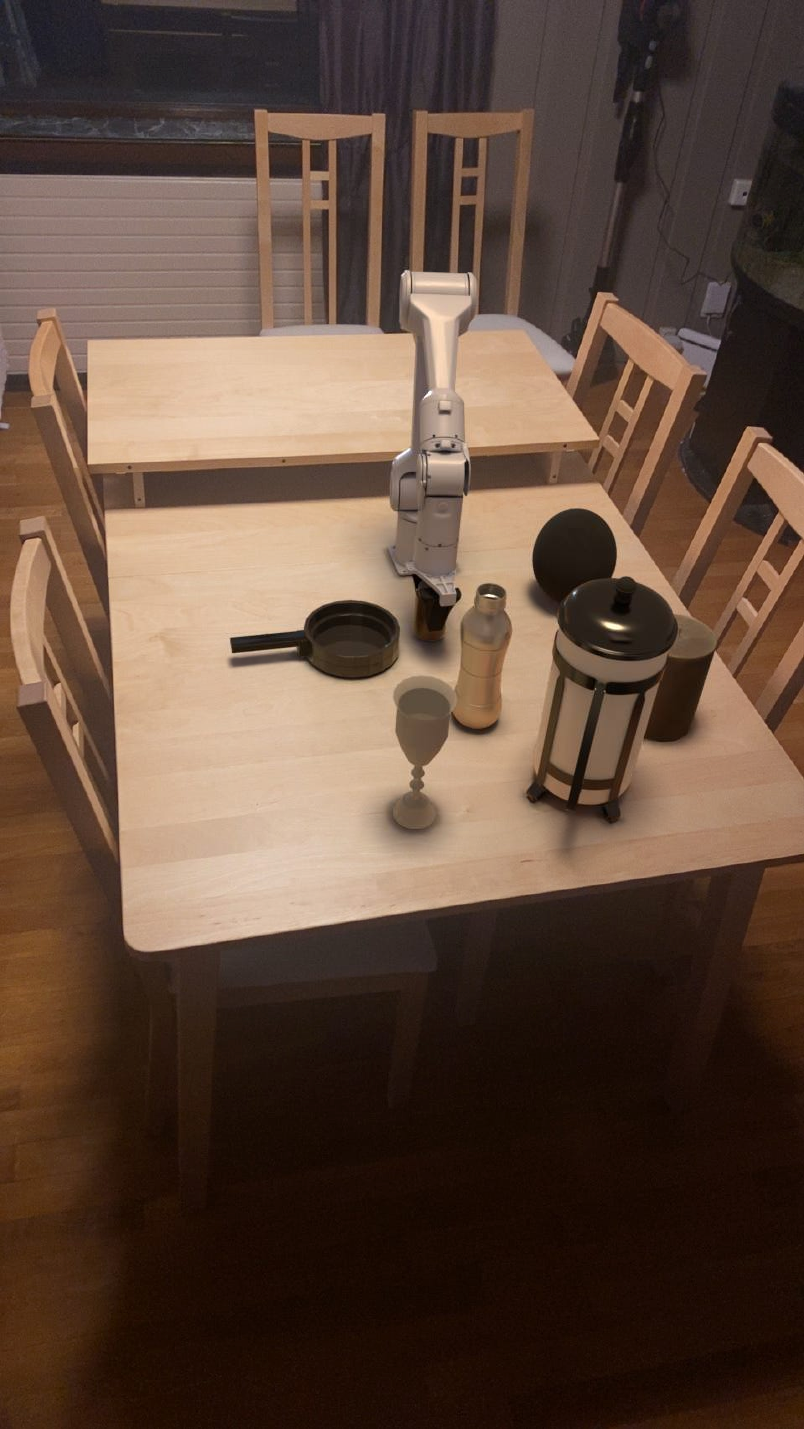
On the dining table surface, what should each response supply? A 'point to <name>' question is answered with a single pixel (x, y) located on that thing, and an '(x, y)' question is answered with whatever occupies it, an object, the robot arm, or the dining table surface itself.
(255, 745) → the dining table surface
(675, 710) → the pillar candle
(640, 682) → the coffee press
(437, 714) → the chalice
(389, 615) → the skillet
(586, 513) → the decorative egg
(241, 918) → the dining table surface
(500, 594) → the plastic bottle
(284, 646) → the skillet handle
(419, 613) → the salt shaker
